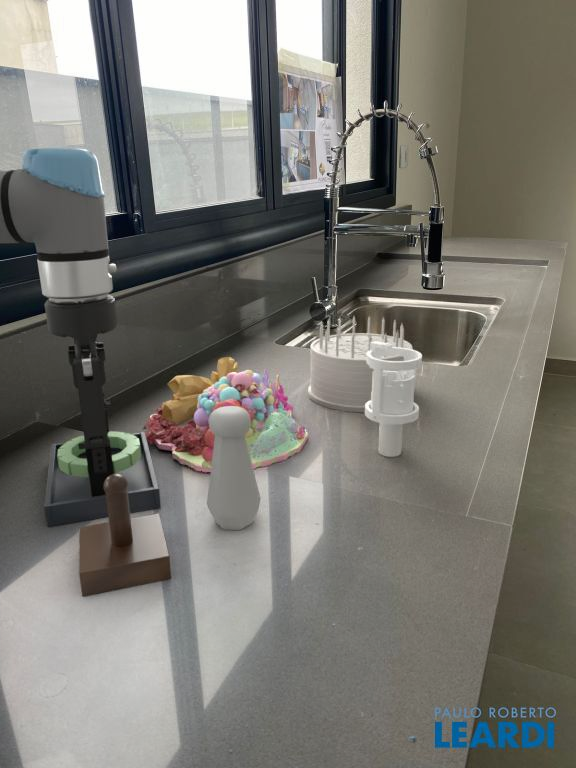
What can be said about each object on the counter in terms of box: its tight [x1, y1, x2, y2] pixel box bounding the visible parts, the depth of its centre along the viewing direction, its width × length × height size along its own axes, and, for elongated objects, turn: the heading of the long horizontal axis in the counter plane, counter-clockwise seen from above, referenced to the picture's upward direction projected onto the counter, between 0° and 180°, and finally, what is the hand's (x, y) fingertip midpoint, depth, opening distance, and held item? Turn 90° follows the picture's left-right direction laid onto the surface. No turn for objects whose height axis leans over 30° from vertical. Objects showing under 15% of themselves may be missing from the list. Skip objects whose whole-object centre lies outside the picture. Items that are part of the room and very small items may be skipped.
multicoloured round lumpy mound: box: [141, 356, 309, 473], centre depth 88 cm, size 25×24×9 cm
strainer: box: [364, 341, 423, 458], centre depth 80 cm, size 7×7×15 cm
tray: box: [43, 431, 162, 528], centre depth 75 cm, size 12×17×2 cm
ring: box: [57, 430, 141, 478], centre depth 74 cm, size 10×10×2 cm
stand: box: [78, 474, 172, 597], centre depth 58 cm, size 8×8×10 cm
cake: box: [307, 315, 414, 413], centre depth 103 cm, size 18×18×13 cm
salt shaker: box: [206, 406, 262, 531], centre depth 64 cm, size 6×6×13 cm
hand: (102, 475), depth 75 cm, fingers closed on ring, 10 cm apart
